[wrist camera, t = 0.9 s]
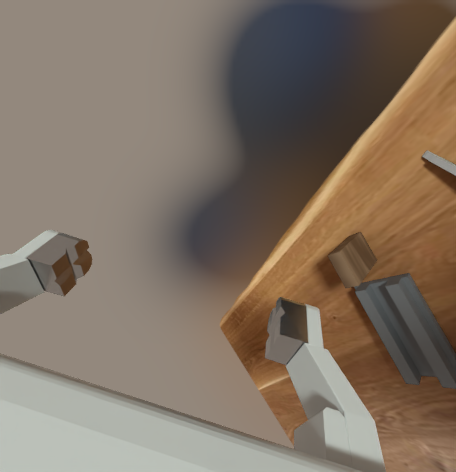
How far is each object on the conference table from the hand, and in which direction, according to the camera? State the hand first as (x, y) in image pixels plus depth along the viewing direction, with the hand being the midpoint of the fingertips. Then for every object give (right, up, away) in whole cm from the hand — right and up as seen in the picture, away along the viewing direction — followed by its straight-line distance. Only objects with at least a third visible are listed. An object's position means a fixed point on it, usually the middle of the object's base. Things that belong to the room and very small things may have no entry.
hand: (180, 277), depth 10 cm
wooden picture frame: (+29, -1, +38) cm, 48 cm away
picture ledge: (+37, -16, +37) cm, 55 cm away
